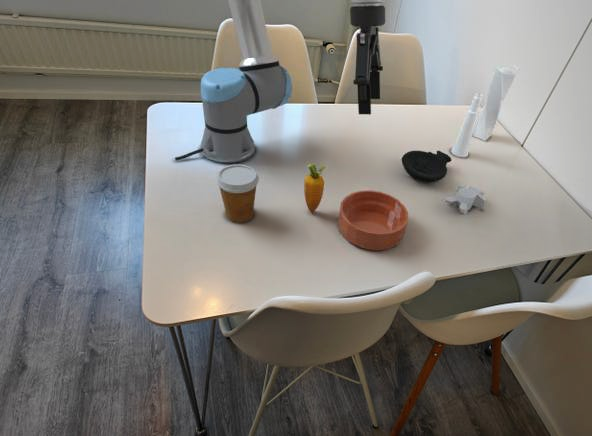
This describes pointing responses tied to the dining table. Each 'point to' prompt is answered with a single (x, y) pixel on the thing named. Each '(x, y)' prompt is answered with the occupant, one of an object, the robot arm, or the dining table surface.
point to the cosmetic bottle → (467, 128)
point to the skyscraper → (494, 101)
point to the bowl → (372, 219)
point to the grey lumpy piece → (467, 198)
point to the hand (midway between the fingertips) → (370, 106)
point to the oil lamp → (426, 165)
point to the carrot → (313, 187)
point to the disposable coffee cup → (238, 191)
